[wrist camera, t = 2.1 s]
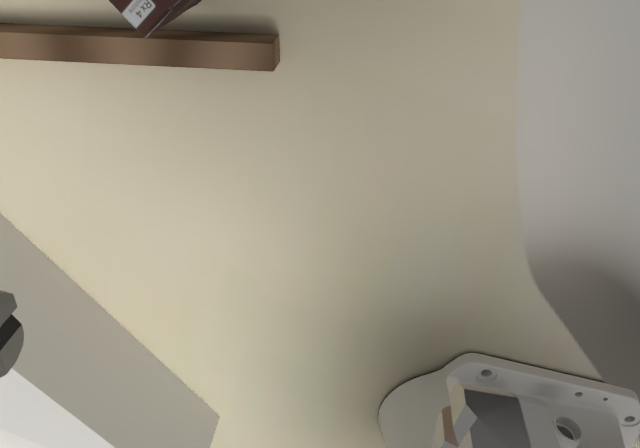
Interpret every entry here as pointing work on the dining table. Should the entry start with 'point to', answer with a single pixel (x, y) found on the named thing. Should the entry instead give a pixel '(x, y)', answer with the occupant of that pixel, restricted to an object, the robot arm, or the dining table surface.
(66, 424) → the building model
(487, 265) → the dining table surface
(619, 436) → the robot arm
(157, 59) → the guide channel
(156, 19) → the box
